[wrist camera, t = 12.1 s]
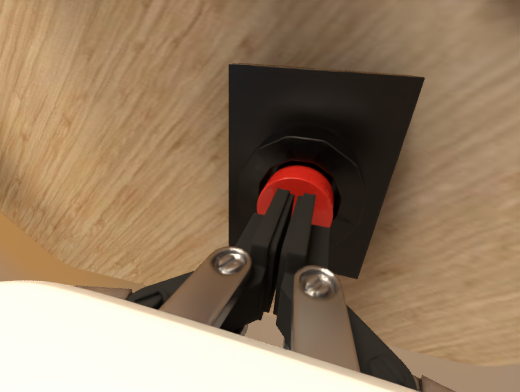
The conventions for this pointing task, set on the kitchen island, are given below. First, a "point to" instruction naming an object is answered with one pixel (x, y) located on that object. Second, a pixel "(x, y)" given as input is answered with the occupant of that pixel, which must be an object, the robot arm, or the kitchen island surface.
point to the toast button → (301, 191)
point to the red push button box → (319, 143)
